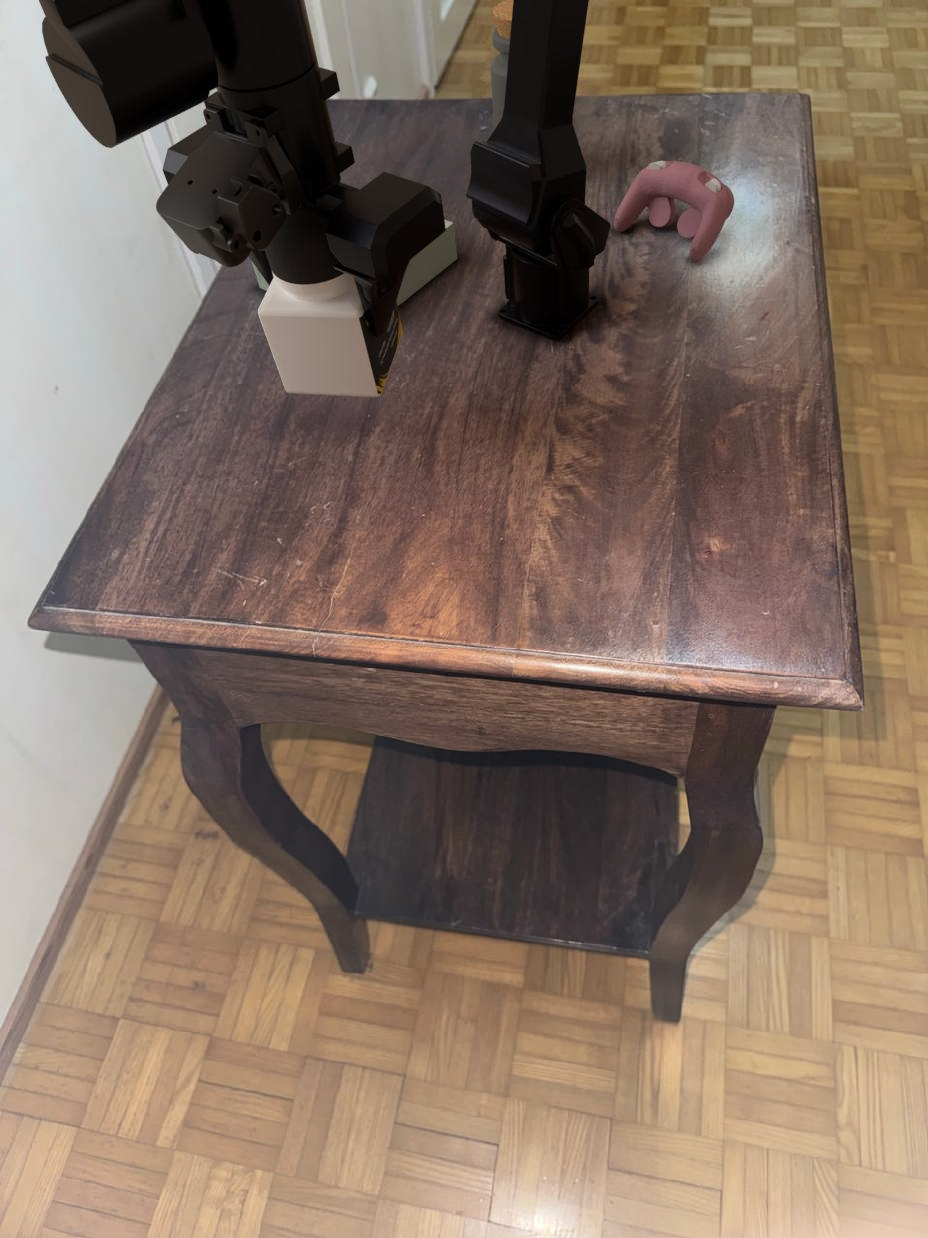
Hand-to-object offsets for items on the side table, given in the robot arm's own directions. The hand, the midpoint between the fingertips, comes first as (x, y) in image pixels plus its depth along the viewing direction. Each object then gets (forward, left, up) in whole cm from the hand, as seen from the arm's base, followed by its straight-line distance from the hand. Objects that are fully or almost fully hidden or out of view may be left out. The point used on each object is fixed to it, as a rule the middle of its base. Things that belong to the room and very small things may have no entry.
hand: (329, 311), depth 62 cm
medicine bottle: (0, 0, -5) cm, 5 cm away
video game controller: (-6, -36, -12) cm, 38 cm away
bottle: (+12, -38, -12) cm, 42 cm away
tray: (+16, -16, -12) cm, 25 cm away
